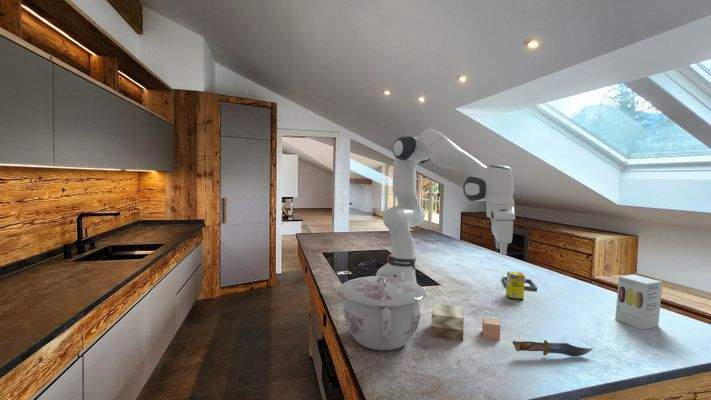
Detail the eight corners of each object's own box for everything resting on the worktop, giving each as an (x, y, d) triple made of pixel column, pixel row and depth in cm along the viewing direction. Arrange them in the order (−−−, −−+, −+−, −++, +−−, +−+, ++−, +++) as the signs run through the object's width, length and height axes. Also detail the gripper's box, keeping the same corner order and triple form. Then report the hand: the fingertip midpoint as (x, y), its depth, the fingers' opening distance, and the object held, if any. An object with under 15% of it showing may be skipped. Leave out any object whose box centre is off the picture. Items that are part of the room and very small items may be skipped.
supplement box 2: (614, 319, 125) (617, 275, 124) (629, 316, 128) (633, 273, 127) (643, 330, 116) (647, 283, 115) (659, 326, 120) (663, 281, 118)
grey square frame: (505, 287, 160) (505, 284, 160) (501, 279, 173) (502, 276, 173) (537, 290, 156) (537, 287, 156) (530, 282, 169) (530, 279, 169)
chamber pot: (372, 314, 126) (373, 261, 124) (439, 337, 108) (441, 275, 107) (319, 342, 104) (319, 277, 103) (392, 376, 87) (394, 299, 85)
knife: (591, 355, 99) (592, 339, 99) (594, 357, 98) (595, 341, 97) (510, 355, 98) (511, 339, 98) (512, 357, 97) (513, 341, 96)
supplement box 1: (523, 300, 143) (525, 275, 143) (509, 299, 145) (510, 274, 144) (519, 295, 149) (521, 272, 148) (505, 294, 150) (506, 271, 150)
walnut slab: (431, 337, 109) (431, 325, 109) (433, 324, 119) (433, 314, 118) (463, 342, 106) (463, 330, 106) (462, 328, 116) (462, 317, 116)
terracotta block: (483, 337, 109) (484, 323, 109) (482, 331, 114) (482, 317, 113) (499, 340, 108) (500, 325, 107) (497, 333, 112) (498, 319, 112)
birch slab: (431, 325, 109) (431, 314, 109) (433, 314, 118) (433, 303, 118) (463, 330, 106) (463, 318, 106) (462, 317, 116) (463, 306, 115)
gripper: (487, 208, 125) (487, 245, 126) (494, 215, 105) (495, 258, 106) (505, 208, 123) (505, 245, 124) (516, 215, 103) (517, 258, 104)
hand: (501, 251), depth 115 cm, fingers open, 8 cm apart
